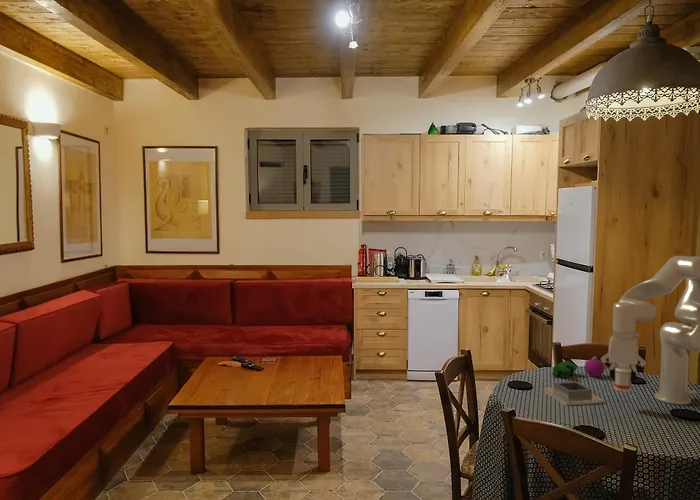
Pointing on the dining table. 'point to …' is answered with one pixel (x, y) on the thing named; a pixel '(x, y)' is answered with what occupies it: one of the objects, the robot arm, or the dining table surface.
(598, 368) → the christmas ornament
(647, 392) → the dining table surface
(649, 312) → the robot arm
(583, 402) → the docking plate
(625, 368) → the pill bottle
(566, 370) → the green lumpy block
